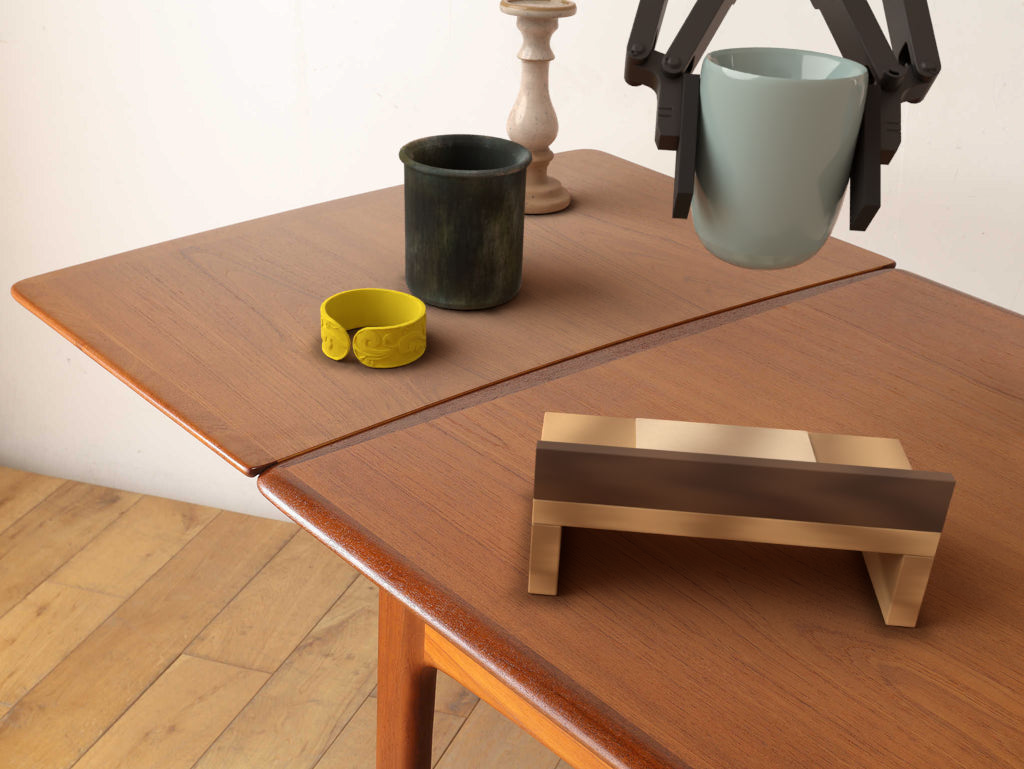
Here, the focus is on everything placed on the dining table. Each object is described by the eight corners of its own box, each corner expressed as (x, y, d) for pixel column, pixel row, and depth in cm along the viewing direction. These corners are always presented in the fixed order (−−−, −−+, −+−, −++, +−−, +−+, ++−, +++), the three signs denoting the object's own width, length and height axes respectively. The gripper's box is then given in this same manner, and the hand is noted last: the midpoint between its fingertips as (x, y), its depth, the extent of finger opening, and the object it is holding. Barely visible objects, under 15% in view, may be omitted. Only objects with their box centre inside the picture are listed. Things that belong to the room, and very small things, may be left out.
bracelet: (348, 319, 85) (347, 281, 83) (441, 336, 83) (441, 297, 81) (304, 356, 78) (302, 316, 77) (403, 375, 76) (403, 334, 75)
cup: (654, 239, 57) (674, 50, 52) (773, 225, 60) (803, 44, 55) (733, 294, 51) (764, 84, 46) (862, 275, 54) (904, 75, 49)
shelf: (877, 525, 62) (910, 391, 58) (915, 628, 54) (956, 481, 50) (539, 497, 63) (547, 364, 59) (527, 593, 55) (535, 448, 51)
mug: (398, 314, 86) (395, 170, 80) (403, 250, 98) (402, 122, 93) (531, 315, 86) (538, 173, 81) (519, 251, 99) (524, 124, 94)
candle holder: (540, 184, 118) (550, -7, 108) (586, 207, 111) (601, 6, 102) (472, 195, 113) (476, -3, 104) (516, 220, 107) (525, 10, 97)
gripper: (956, -108, 60) (966, 259, 53) (592, -124, 62) (558, 230, 55) (1009, -218, 53) (1028, 190, 46) (595, -234, 54) (557, 160, 48)
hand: (773, 212), depth 51 cm, fingers closed on cup, 8 cm apart
